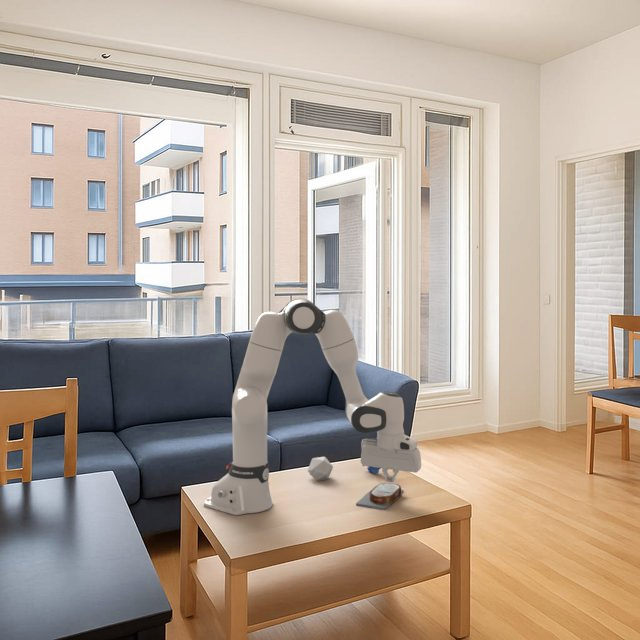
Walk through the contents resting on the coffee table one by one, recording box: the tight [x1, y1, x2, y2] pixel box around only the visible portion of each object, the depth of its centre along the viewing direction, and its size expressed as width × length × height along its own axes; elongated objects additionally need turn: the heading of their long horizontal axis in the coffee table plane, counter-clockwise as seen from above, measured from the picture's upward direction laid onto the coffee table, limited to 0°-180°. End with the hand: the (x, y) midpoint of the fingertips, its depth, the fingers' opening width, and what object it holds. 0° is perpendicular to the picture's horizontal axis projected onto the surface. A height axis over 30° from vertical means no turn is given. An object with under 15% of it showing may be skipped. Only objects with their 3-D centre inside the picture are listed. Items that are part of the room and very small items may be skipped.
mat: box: [355, 485, 404, 511], centre depth 208 cm, size 10×19×1 cm, turn 155°
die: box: [307, 456, 334, 482], centre depth 229 cm, size 8×9×10 cm
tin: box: [369, 482, 402, 505], centre depth 208 cm, size 15×3×8 cm
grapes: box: [367, 466, 382, 475], centre depth 235 cm, size 12×7×12 cm, turn 29°
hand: (390, 481), depth 206 cm, fingers closed
